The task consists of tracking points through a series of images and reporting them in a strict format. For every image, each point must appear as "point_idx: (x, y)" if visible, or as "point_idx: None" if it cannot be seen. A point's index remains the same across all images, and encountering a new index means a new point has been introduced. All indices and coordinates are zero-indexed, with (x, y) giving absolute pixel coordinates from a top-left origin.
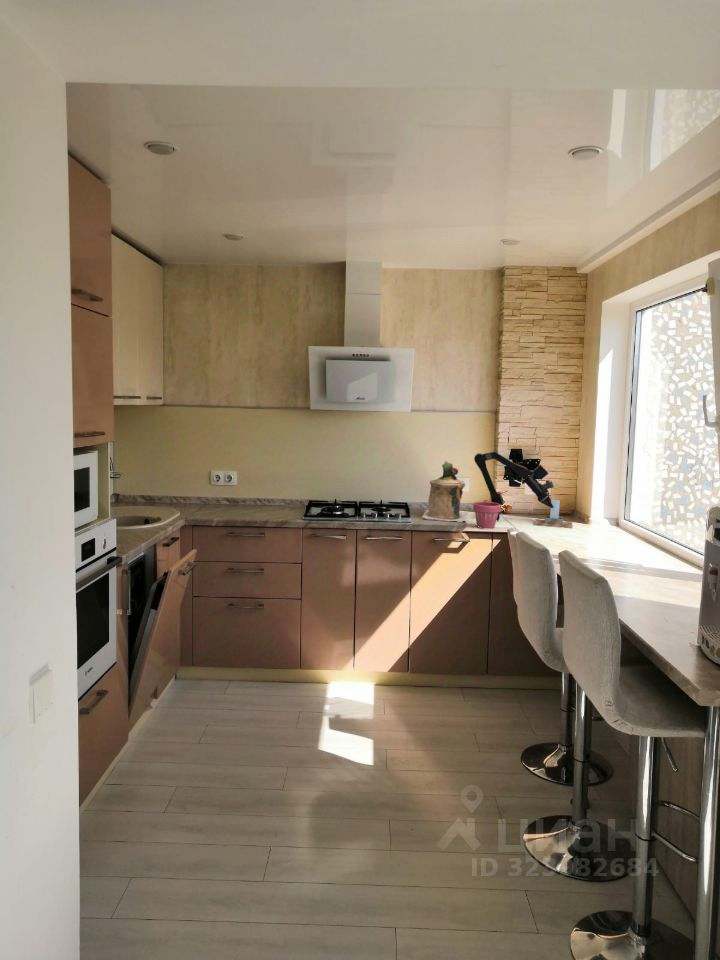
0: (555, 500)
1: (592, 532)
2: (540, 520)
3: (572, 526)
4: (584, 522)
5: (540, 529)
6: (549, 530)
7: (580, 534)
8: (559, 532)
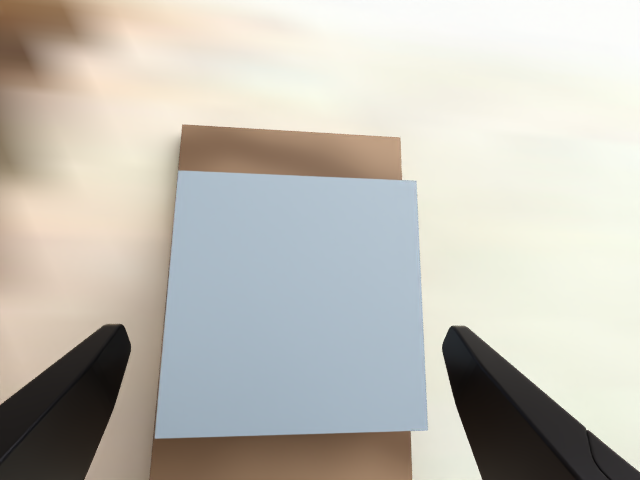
0: (290, 297)
1: (486, 22)
2: (208, 448)
3: (399, 139)
4: (9, 15)
5: (600, 419)
6: (599, 338)
7: (617, 111)
8: (635, 258)
